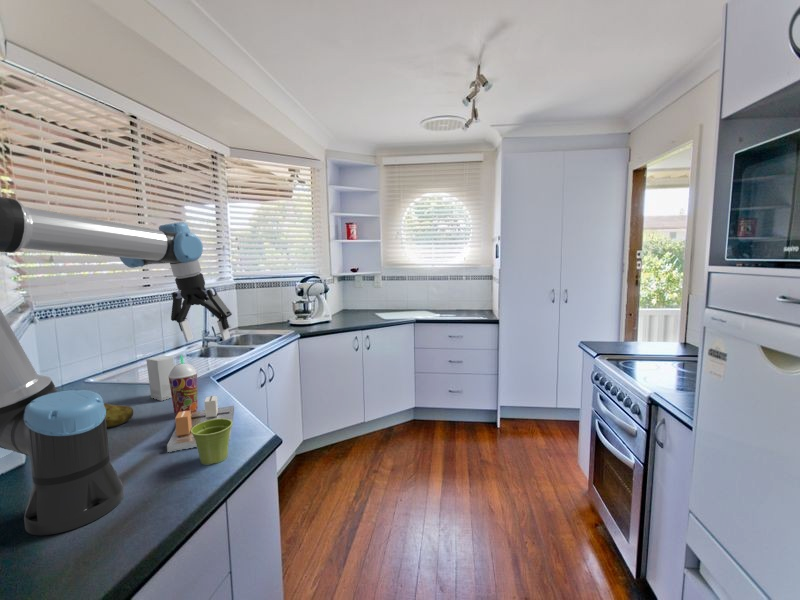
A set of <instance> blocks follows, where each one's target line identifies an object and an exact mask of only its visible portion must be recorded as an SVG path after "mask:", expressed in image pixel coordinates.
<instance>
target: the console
mask: <svg viewBox="0 0 800 600" xmlns="http://www.w3.org/2000/svg"><path fill="white" fill-rule="evenodd" d="M234 415H235V406H234V405H231V406H224V407H218V413H217V416H213V417H207V418H206V413H205V409H204V410H196V411H195V412H191V423H192V428H193V427H194V426H195V425H197V424H199V423H202V422H204V421H208V420H213V419H229V420H231V421H232V424H233V423H234ZM192 428H191V429H192ZM232 429H233V425H232V426H231V429H230V432H229V441H231V437H230V436H232ZM193 447H197V444H196V440H195V438H194V436H193V434H191V430H190V433H189V434H185V435H179V436H177V434H176V428H175V429H174V431H173V432H172V435H171V436H170V439H169V441H168V443H167V444H166V450H167V453H168V452H169V453H173V452H172V451H175V452H177V451H176V450H180V451H183V450H182V449H186V450H189V449H188V448H191V449H194V448H193Z"/></svg>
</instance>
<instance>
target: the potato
mask: <svg viewBox="0 0 800 600" xmlns="http://www.w3.org/2000/svg"><path fill="white" fill-rule="evenodd" d="M103 403H104V402H103ZM104 407H105V409H106V426H107V428H113V427H117V426H120V425H122V424H124V423H127V422H128V421H129V420H131V419H132V418H133V416H134V409H133V408H132V407H130V406H127V405H119V404H118V405H117V404H116V405H115V404H109V403H104Z"/></svg>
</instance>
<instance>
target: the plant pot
mask: <svg viewBox="0 0 800 600" xmlns="http://www.w3.org/2000/svg"><path fill="white" fill-rule="evenodd" d="M231 426H232V427H233V423H232V421H231V420H229V419H213V420H208V421H204V422H202V423H199V424H197V425H195V426H194V427H193V428H192V429H191V434H193V436H194V438H195V440H196V444H197V448H196V449H197V453H198V456H199V457H198V458H199V461H200V463H201V464H203V465H206V466H210V465H212V464H219V463H222V462H223V461H225V460H226V459H227V457H228V453H229V443H230V442H229V432H230V429H231Z"/></svg>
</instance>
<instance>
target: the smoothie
mask: <svg viewBox="0 0 800 600" xmlns="http://www.w3.org/2000/svg"><path fill="white" fill-rule="evenodd" d="M183 357H184V356H183V355H182V354H181V355H180V363H177V364H176V365H175V367H174V368H173V369H172V370H171V372H170V375H169V376H168V377H169V383H170V389H171V395H172V398H171V400H172V401H171V402H172V406H173V407H172V408H173V413H175V415H176V416H177V414H178V412H182V411H189V410H190V411H191V412H195V411H197V409H198V370H196V368H195V367H194V366H193V365H192V364H190V363H188V362H187V363H186V362H184V358H183Z"/></svg>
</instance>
